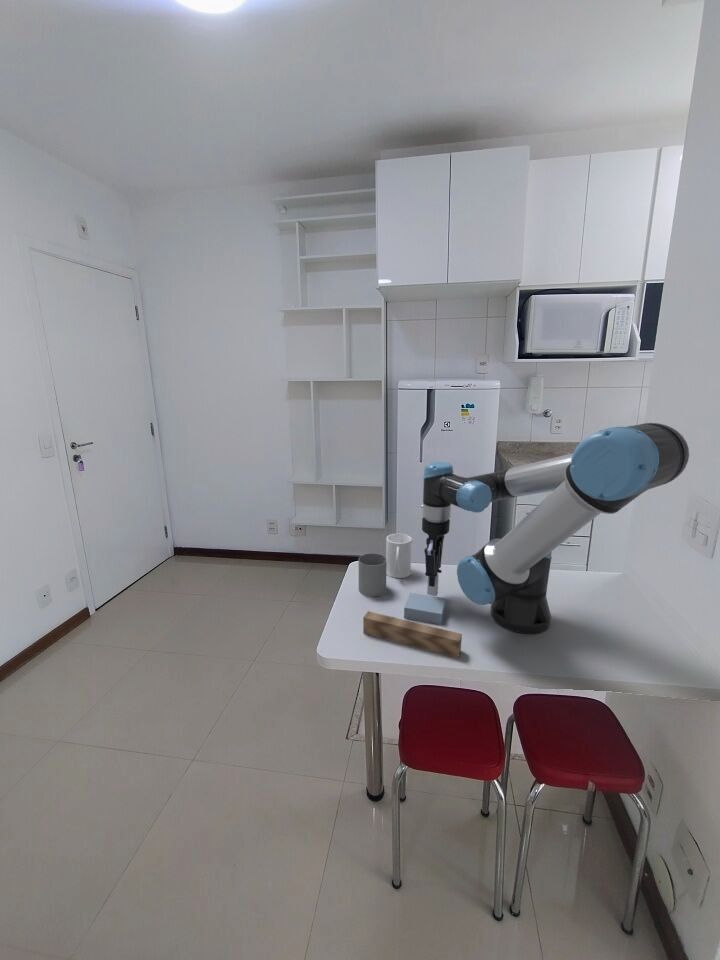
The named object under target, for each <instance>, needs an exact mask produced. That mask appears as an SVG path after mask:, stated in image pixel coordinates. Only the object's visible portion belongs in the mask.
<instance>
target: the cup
mask: <svg viewBox="0 0 720 960" xmlns="http://www.w3.org/2000/svg"><path fill="white" fill-rule="evenodd" d="M386 568H387V560H386V556H384V555H383V554H379V553H376V552H375V553H373V552H370V553H369V552H368V553H365V554H362V555H360V556H359V557H358V592H359V593H360V594H361V595H363V596H365V597H366V596H367V597H378V596H379V597H380V596H382V595H384V594H385V593H386V592H387V574H386Z"/></svg>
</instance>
